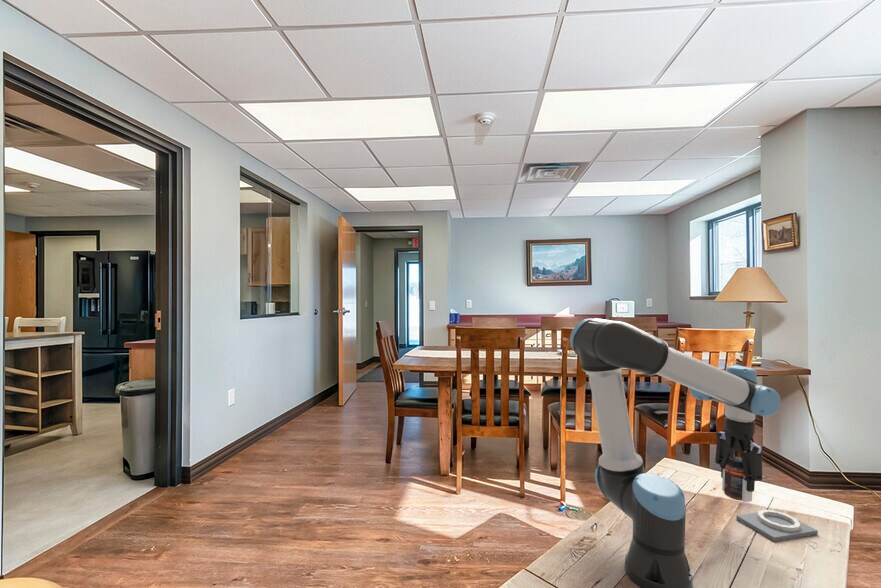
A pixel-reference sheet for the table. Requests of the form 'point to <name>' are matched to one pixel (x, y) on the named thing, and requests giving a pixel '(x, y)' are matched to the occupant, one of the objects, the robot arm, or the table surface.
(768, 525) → the hub board
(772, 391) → the robot arm
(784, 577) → the table surface
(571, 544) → the table surface
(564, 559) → the table surface
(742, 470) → the supplement bottle
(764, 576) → the table surface
